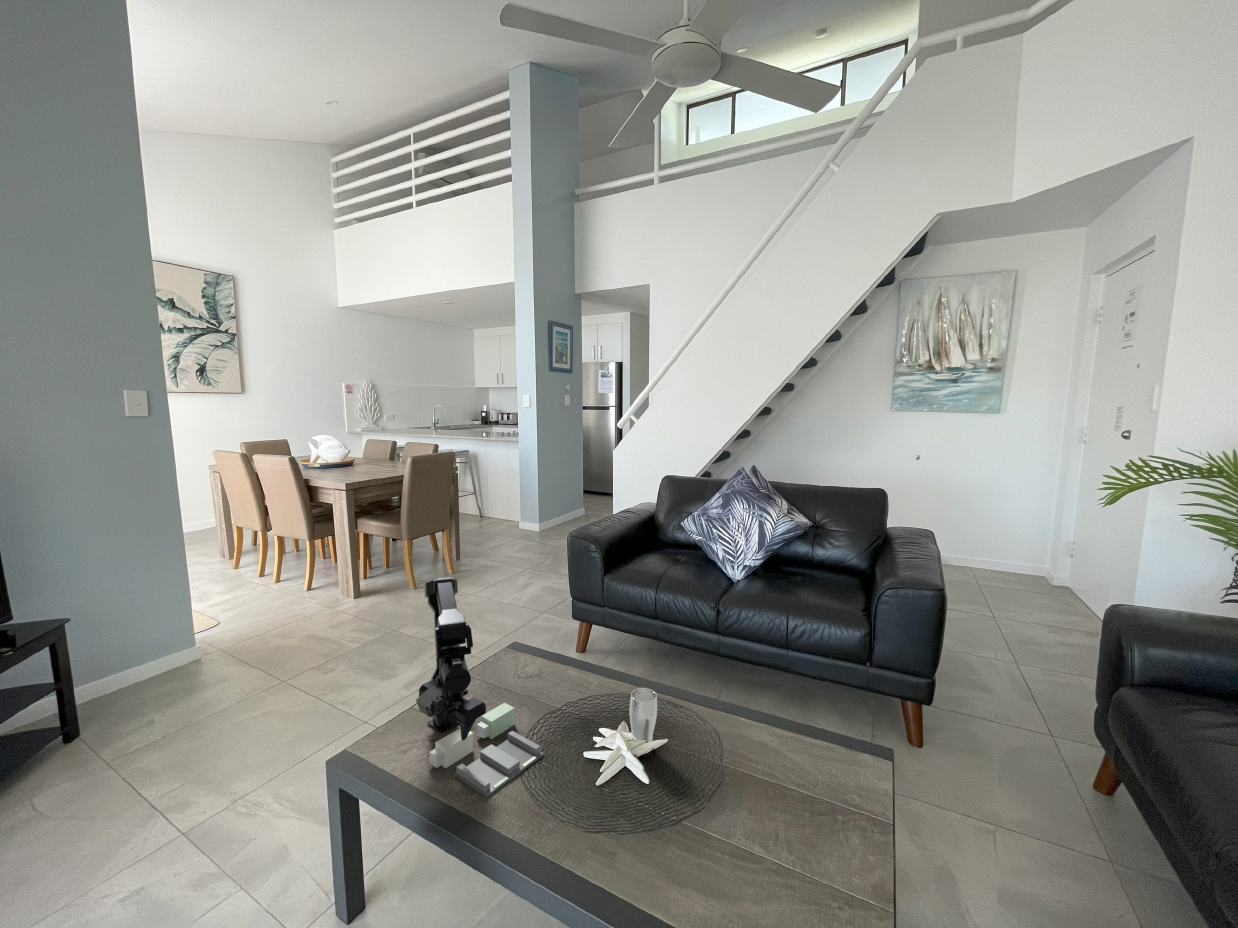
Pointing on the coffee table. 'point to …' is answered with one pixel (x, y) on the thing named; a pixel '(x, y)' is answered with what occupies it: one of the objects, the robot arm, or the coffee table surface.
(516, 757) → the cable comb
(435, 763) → the cream plug
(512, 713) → the sage plug
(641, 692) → the beer glass
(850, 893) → the coffee table surface
